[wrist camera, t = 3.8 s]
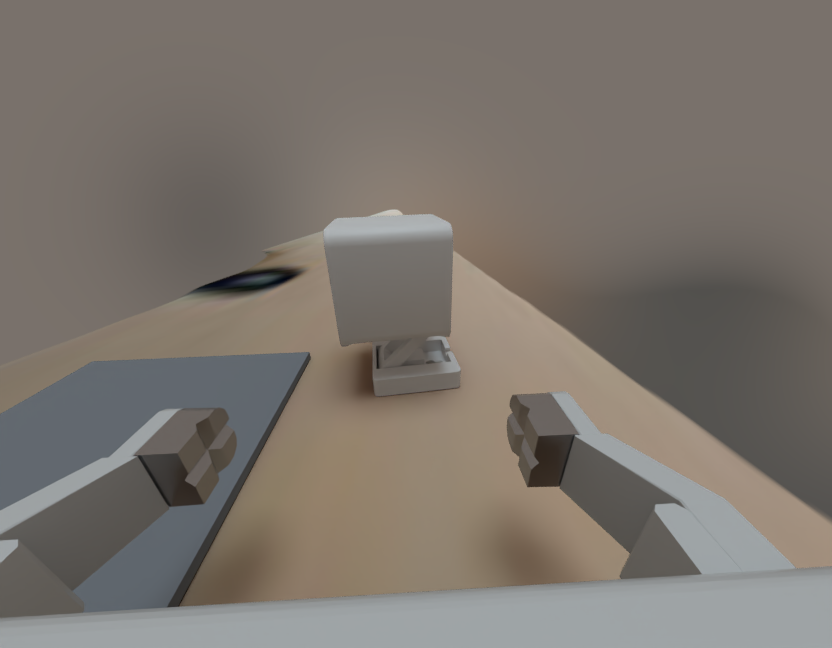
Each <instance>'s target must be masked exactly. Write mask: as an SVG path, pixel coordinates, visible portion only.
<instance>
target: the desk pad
mask: <svg viewBox="0 0 832 648" xmlns="http://www.w3.org/2000/svg"><path fill="white" fill-rule="evenodd" d="M310 358H311V357H310V353H309V352H301V353H278V354H255V355H232V356H209V357H186V358H163V359H140V360H117V361H94V362H91V363H89V364H87V365H85V366H84V367H82V368H80V369H78V370H77V371H75V372H73V373H71V374H70V375H68V376H66V377H64V378H63V379H61V380H59V381H57V382H56V383H54V384H52V385H50V386H49V387H47V388H45V389H43V390H42V391H40V392H38V393H36V394H35V395H33V396H31V397H29V398H28V399H26V400H24V401H22V402H21V403H19V404H17V405H15V406H14V407H12V408H10V409H8V410H7V411H5V412H3V413H1V414H0V510H2V509H4V508H6V507H8V506H10V505H12V504H14V503H16V502H18V501H20V500H22V499H24V498H26V497H27V496H29V495H31V494H33V493H35V492H37V491H39V490H41V489H43V488H45V487H47V486H49V485H51V484H53V483H55V482H56V481H58V480H60V479H62V478H64V477H66V476H68V475H70V474H72V473H74V472H76V471H78V470H80V469H82V468H84V467H85V466H87V465H89V464H91V463H93V462H95V461H97V460H99V459H101V458H109V457H110V456H111V455H112V454H113V453H114V452H115V451H116V450H117V449H118V448H120V447H121V446H122V445H123V444H124V443H125V442H126V441H127V440H128V439H129V438H130V437H132V436H133V435H134V434H135V433H136V432H137V431H138V430H139V429H140V428H141V427H142V426H144V425H145V424H146V423H147V422H148V421H149V420H150V419H151V418H152V417H153V416H154V415H156V414H157V413H158V412H159V411H162V410H165V409H184V408H219V407H220V408H223V409H225V410H226V412H227V414H228V416H229V420H228V422H227V424H226V425H228V426H229V427H230V428H232V429H233V430H234V432H235V434H236V437H237V447H236V451H235V455H234V457H233V459H232V460H231V462H230V464H229V465H228V466H227V467H226V468H224V469H223V470H222V471H220V472H219V473H218V475H219V482H218V483H217V485H216V486H215V488H214V490H213V491H212V493H211V494H210V496H209V498H208V499H207V501H206V502H205V504H201V505H189V506H177V507H169V508H170V509H169V510H168V511H167V512H165V513H164V514H163V515H162V516H161V517H159V518H158V519H157V520H156V521H155V522H154V523H152V524H151V525H150V526H149V527H148V528H146V529H145V530H144V531H143V532H142V533H141V534H139V535H138V536H137V537H136V538H135V539H133V540H132V541H131V542H130V543H129V544H128V545H126V546H125V547H124V548H123V549H122V550H120V551H119V552H118V553H117V554H116V555H114V556H113V557H112V558H111V559H110V560H109V561H107V562H106V563H105V564H104V565H103V566H101V567H100V568H99V569H98V570H97V571H96V572H94V573H93V574H92V575H91V576H90V577H88V578H87V579H86V580H85V581H84V582H83V583H81V584H80V585H79V586H78V587H77V588H75V589H74V590H73V592H74V593H75V594H76V595H77V596H78V597H79V598H80V599H81V600H82V601H83V602H84V611H83V612H82V613H88V612H104V611H120V610H135V609H151V608H167V607H178V605H179V603H180V601H181V600H182V598H183V596H184V594H185V592H186V590H187V588H188V586H189V585H190V583H191V581H192V579H193V577H194V575H195V573H196V571H197V570H198V568H199V566H200V564H201V562H202V560H203V558H204V556H205V555H206V553H207V551H208V549H209V547H210V545H211V543H212V542H213V540H214V538H215V536H216V534H217V532H218V530H219V528H220V527H221V525H222V523H223V521H224V519H225V517H226V515H227V513H228V512H229V510H230V508H231V506H232V504H233V502H234V500H235V498H236V497H237V495H238V493H239V491H240V489H241V487H242V485H243V483H244V482H245V480H246V478H247V476H248V474H249V472H250V470H251V468H252V467H253V465H254V463H255V461H256V459H257V457H258V455H259V453H260V452H261V450H262V448H263V446H264V444H265V442H266V440H267V439H268V437H269V435H270V433H271V431H272V429H273V427H274V425H275V424H276V422H277V420H278V418H279V416H280V414H281V412H282V410H283V409H284V407H285V405H286V403H287V401H288V399H289V397H290V395H291V394H292V392H293V390H294V388H295V386H296V384H297V382H298V380H299V379H300V377H301V375H302V373H303V371H304V369H305V367H306V365H307V364H308V362H309V360H310Z"/></svg>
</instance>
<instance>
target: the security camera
mask: <svg viewBox="0 0 832 648" xmlns="http://www.w3.org/2000/svg"><path fill="white" fill-rule="evenodd" d="M323 237H324V247H325V254H326V260H327V266H328V272H329V278H330V284H331V290H332V297H333V303H334V309H335V315H336V321H337V327H338V333H339V339H340V344H341V346H348V345H351V344H356V343H367V342H372V356H373V386H374V394H375V396H378V397H380V396H389V395H398V394H406V393H415V392H424V391H433V390H442V389H451V388H458V387H459V386H460V374H461V369H460V367H459V365H458V363H457V360H456V358H455V356H454V354H453V352H452V351H450V346H449V344H448V342H447V340H446V338H445V337H449V336H450V333H451V305H452V263H453V231H452V227H451V224H450V223H449V222H447V221H445V220H442V219H440V218H438V217H436V216H434V215H432V214H424V215H423V214H422V215H399V216H377V217H355V218H336V219H335V220H334V221H333V222H332V223H331V224H329V225H328V226H327V227H326V228H325V229H324V233H323ZM428 363H431V364H428Z"/></svg>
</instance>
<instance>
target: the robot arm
mask: <svg viewBox="0 0 832 648" xmlns="http://www.w3.org/2000/svg"><path fill="white" fill-rule="evenodd" d="M510 408H511V410H512V412H513V413H512V414H511V415H510V416H509V417H508V420H507V436H508V440H509V444H510V446H511V449H512V451H513V452H514V453H515V454H517V455H518V456H519V463H518V466H519V468H520V471H521V473H522V475H523V478H524V480H525V483H526V485H527V487H558V486H560V489H561V490H562V491H563V492H564V493H565V494H566V495H568V496H569V497H570V498H571V499H572V500H573V501H574V502H575V503H576V504H577V505H578V506H579V507H581V508H582V509H583V510H584V511H585V512H586V513H587V514H588V515H589V516H590V517H591V518H592V519H593V520H595V521H596V522H597V523H598V524H599V525H600V526H601V527H602V528H603V529H604V530H605V531H606V532H608V533H609V534H610V535H611V536H612V537H613V538H614V539H615V540H616V541H617V542H618V543H619V544H620V545H622V546H623V547H624V548H625V549H626V550H627V551H628V552H629V553H630V555H629V557H628V559H627V561H626V563H625V565H624V567H623V568H622V571H621V574H620V578H621V579H617V580H601V581H584V582H568V583H552V584H536V585H520V586H504V587H488V588H471V589H455V590H439V591H423V592H407V593H391V594H374V595H358V596H342V597H326V598H310V599H294V600H278V601H262V602H246V603H230V604H215V605H199V606H183V607H167V608H151V609H135V610H120V611H104V612H88V613H82V612H83V611H84V602H83V601H82V600H81V599H80V598H79V597H78V596H77V595H76V594H75V593H74V592H73V590H74V589H75V588H77V587H78V586H79V585H80V584H81V583H83V582H84V581H85V580H86V579H87V578H88V577H90V576H91V575H92V574H93V573H94V572H96V571H97V570H98V569H99V568H100V567H101V566H103V565H104V564H105V563H106V562H107V561H109V560H110V559H111V558H112V557H113V556H114V555H116V554H117V553H118V552H119V551H120V550H122V549H123V548H124V547H125V546H126V545H128V544H129V543H130V542H131V541H132V540H133V539H135V538H136V537H137V536H138V535H139V534H141V533H142V532H143V531H144V530H145V529H146V528H148V527H149V526H150V525H151V524H152V523H154V522H155V521H156V520H157V519H158V518H159V517H161V516H162V515H163V514H164V513H165V512H167V511H168V510H169V509H170V508H169V507H177V506H189V505H201V504H205V502H206V501H207V499H208V498H209V496H210V494H211V493H212V491H213V490H214V488H215V486H216V485H217V483H218V482H219V475H218V473H219V472H220V471H222V470H223V469H224V468H226V467H227V466H228V465H229V464H230V462H231V460H232V459H233V457H234V455H235V451H236V447H237V437H236V434H235V432H234V430H233V429H232V428H230V427H229V426H228V425H226V424H227V422H228V420H229V416H228V414H227V412H226V410H225V409H223V408H220V407H219V408H184V409H165V410H162V411H159V412H158V413H157V414H156V415H154V416H153V417H152V418H151V419H150V420H149V421H148V422H147V423H146V424H145V425H144V426H142V427H141V428H140V429H139V430H138V431H137V432H136V433H135V434H134V435H133V436H132V437H130V438H129V439H128V440H127V441H126V442H125V443H124V444H123V445H122V446H121V447H120V448H118V449H117V450H116V451H115V452H114V453H113V454H112V455H111V456H110V457H109V458H101V459H99V460H97V461H95V462H93V463H91V464H89V465H87V466H85V467H84V468H82V469H80V470H78V471H76V472H74V473H72V474H70V475H68V476H66V477H64V478H62V479H60V480H58V481H56V482H55V483H53V484H51V485H49V486H47V487H45V488H43V489H41V490H39V491H37V492H35V493H33V494H31V495H29V496H27V497H26V498H24V499H22V500H20V501H18V502H16V503H14V504H12V505H10V506H8V507H6V508H4V509H2V510H0V648H832V566H827V567H811V568H796V567H795V566H794V565H793V564H792V563H790V562H789V561H788V560H787V559H786V558H785V557H784V556H783V555H782V554H781V553H780V552H779V551H778V550H777V549H776V548H775V547H774V546H773V545H772V544H771V543H770V542H769V541H768V540H767V539H766V538H765V537H764V536H763V535H762V534H761V533H760V532H759V531H758V530H757V529H756V528H755V527H754V526H753V525H751V524H750V523H749V522H748V521H747V520H746V519H745V518H744V517H743V516H742V515H741V514H740V513H739V512H738V511H737V510H736V509H735V508H734V507H733V506H732V505H731V504H730V503H729V502H728V501H727V500H726V499H724V498H722V497H721V496H719V495H717V494H715V493H713V492H712V491H710V490H708V489H706V488H704V487H703V486H701V485H699V484H697V483H695V482H694V481H692V480H690V479H688V478H686V477H685V476H683V475H681V474H679V473H677V472H676V471H674V470H672V469H670V468H668V467H667V466H665V465H663V464H661V463H659V462H657V461H656V460H654V459H652V458H650V457H648V456H647V455H645V454H643V453H641V452H639V451H638V450H636V449H634V448H632V447H630V446H629V445H627V444H625V443H623V442H621V441H620V440H618V439H616V438H614V437H612V436H611V435H609V434H601V433H600V431H599V430H598V429H597V428H596V426H595V425H594V424H593V423H592V421H591V420H590V419H589V418H588V417H587V415H586V414H585V413H584V412H583V410H582V409H581V408H580V407H579V405H578V404H577V403H576V402H575V400H574V399H573V398H572V397H571V396H570V394H569V393H567V392H565V391H564V392H548V393H537V394H517V395H512V397H511V400H510Z"/></svg>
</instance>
